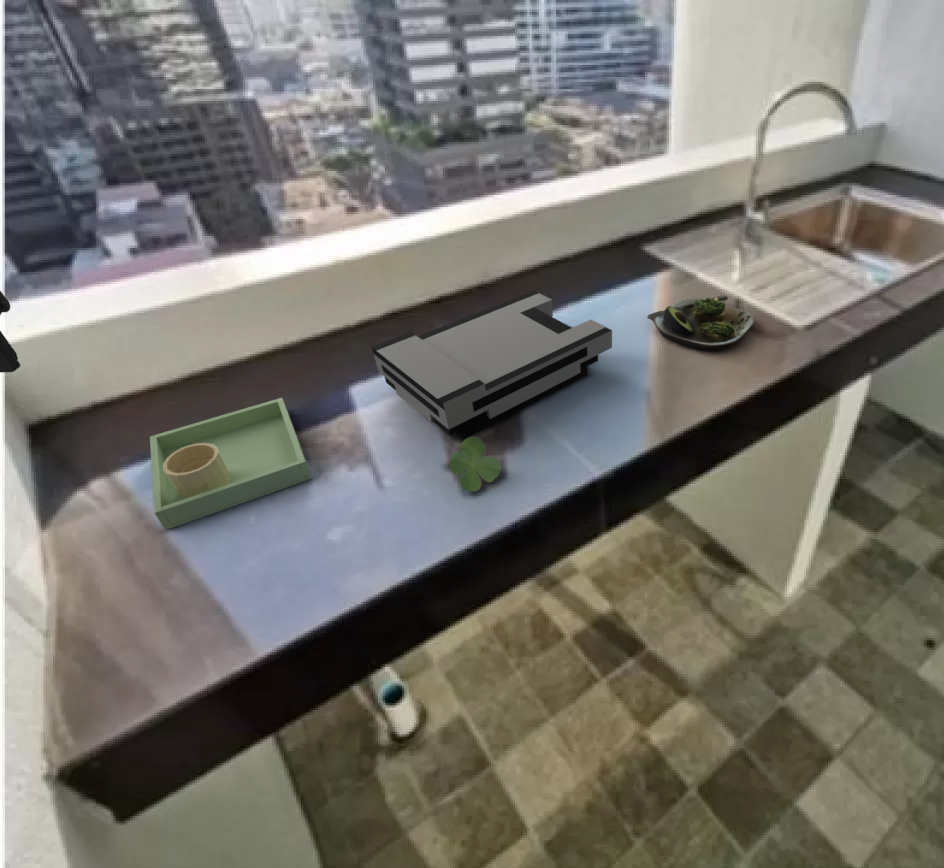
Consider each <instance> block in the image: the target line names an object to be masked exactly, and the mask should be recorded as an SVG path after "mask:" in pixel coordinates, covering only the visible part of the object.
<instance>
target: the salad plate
mask: <svg viewBox="0 0 944 868" xmlns="http://www.w3.org/2000/svg"><path fill="white" fill-rule="evenodd" d="M726 301H728V296H727V295H718V296H714V297H710V298H709V297H706V298H697V297H696V298H693V297H692V298H684V299H681V300H678V301H677V302H675V303H674V304H673V305H669V306H667V307H666V308H665V309H664V310H658V311H654V312H651V313H650V314H647V317H646V319H649V320H650V321H652V322H653V324H654V326H655V328H656V330H657V331H658V333H659V334H660V335H661V337H663V338H664V339H666V340H668V341H669V342H673V343H675V344H677V345H680V346H683V347H685V348H689V349H692V350H695V351H702V352H719V351H723V350H725V349H728V348H730V347H733V346H734V345H736V344H737V343H739V342H740V341H741V340H742V337H744V336H745V335H746V334H747V333H748V331H749V330H750V329H751V327H752V326H753V325H754V317H753V316H752V315H751V314H750V313H749V312H748V311H746V310H744V309H741V308H737V307H732V306H729V305H726V303H725V302H726Z"/></svg>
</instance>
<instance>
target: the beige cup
mask: <svg viewBox="0 0 944 868" xmlns="http://www.w3.org/2000/svg"><path fill="white" fill-rule="evenodd" d="M163 471H164V472H165V474H166V476H167V477H168V479H169V480H170V482H171V484H172V485H173V487H174V488H175V490H176V492H177V493H178V495H179V496H180V497H182V498H183V499H186V498H189V497H192V496H195V495H198V494H201V493H204V492H207V491H210V490H213V489H216V488H219V487H222V486H225V485H228V484H229V482H230V480H231V472H230V470H229V468H228V467H227V465H226V463H225V461H224V459H223V457H222V455H221V453H220V452H219V450H218V448H217V447H216V446H214V445H213V444H209V443H197V444H192V445H189V446H186V447H183V448H181V449H179V450H177V451H175V452H173V453H172V454H171V455H170V456H169V457H167V458H166V460H165V462H164V463H163Z"/></svg>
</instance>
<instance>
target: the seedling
mask: <svg viewBox="0 0 944 868" xmlns="http://www.w3.org/2000/svg"><path fill="white" fill-rule="evenodd" d="M460 449H461V451H455V452H454V453H452V454H451V457H450V460H449V464H448V465H447V467H449V468H450V471H451V473H452V474H453V475H454V476H459V475H460V478H459V484H460V486H461V488H463V490H464V491H467V492H477V491H479V490H480V489H481V487H482V479H483V481H485V482H486V483H492V482H493V481H494V480H495V479H497V478H498V477H499V475H500V473H501V470H502V464H501V462H500V461H499V460H498V458H496V457H494V456H489V455H488V456H487V455H486V456H485V454H486V451H487V447H486V445H485V443H484V441H483V440H482V439H481V438H480V437H478V436H470V437H468V438H466V439H464V440H463V441H462V442H461V444H460ZM481 478H482V479H481Z"/></svg>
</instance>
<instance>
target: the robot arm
mask: <svg viewBox="0 0 944 868" xmlns="http://www.w3.org/2000/svg"><path fill="white" fill-rule="evenodd" d="M9 311H11V303H10V301H9V299H7V297H6V296H5V294H4V293H3V292H2V291H1V290H0V316H1V315H2V313H8V312H9ZM19 368H21V363H20V362H19V358H18V353H17V352H16V350H15V349H14V348H13V345H12V344H10V343H9V340H8V339H7V338H6V336H5V335H4V334H3V332H2V331H1V330H0V373H14V372H15V371H16V370H18V369H19Z"/></svg>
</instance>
